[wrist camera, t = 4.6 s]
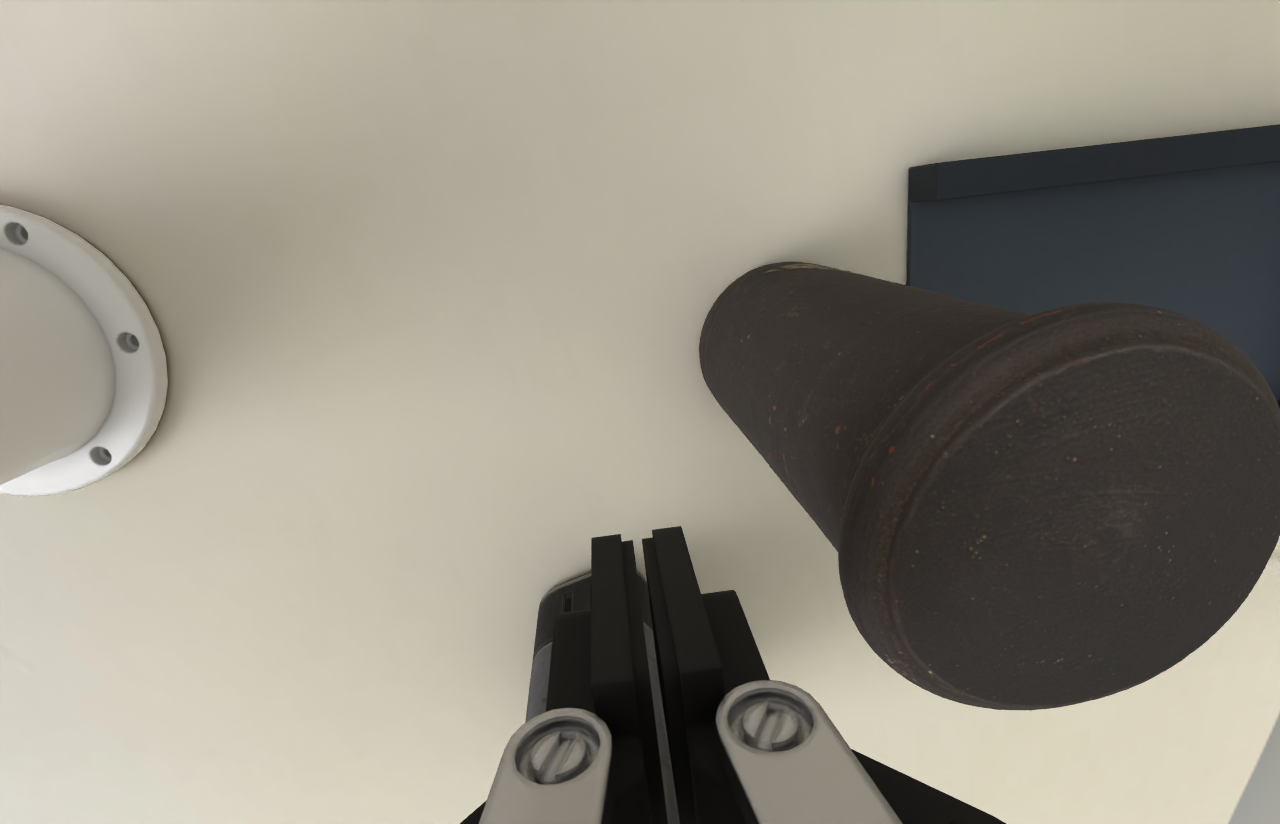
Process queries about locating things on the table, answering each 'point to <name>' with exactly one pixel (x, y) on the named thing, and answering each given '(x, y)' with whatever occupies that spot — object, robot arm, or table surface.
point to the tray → (1113, 231)
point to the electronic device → (554, 602)
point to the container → (1008, 474)
